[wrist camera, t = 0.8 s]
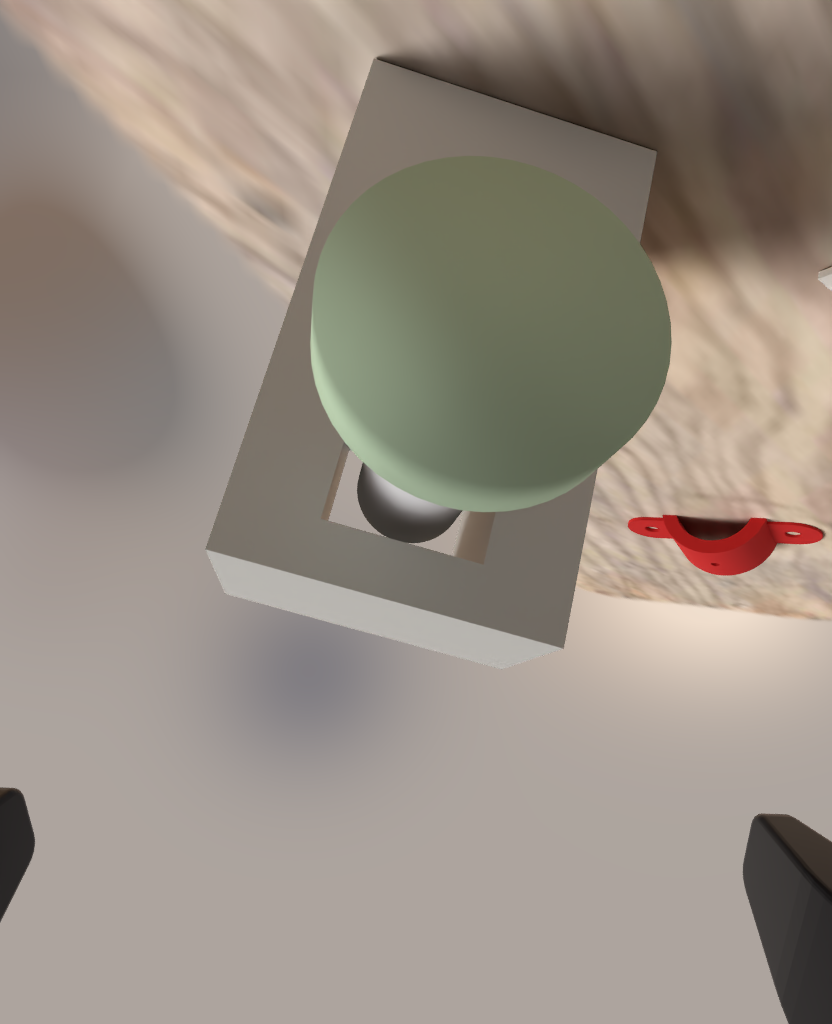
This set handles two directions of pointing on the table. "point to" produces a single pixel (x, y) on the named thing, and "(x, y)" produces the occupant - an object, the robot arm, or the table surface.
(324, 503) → the button box
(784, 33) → the table surface
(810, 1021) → the robot arm
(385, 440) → the button
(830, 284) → the white flat square plate
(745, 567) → the pipe clamp
